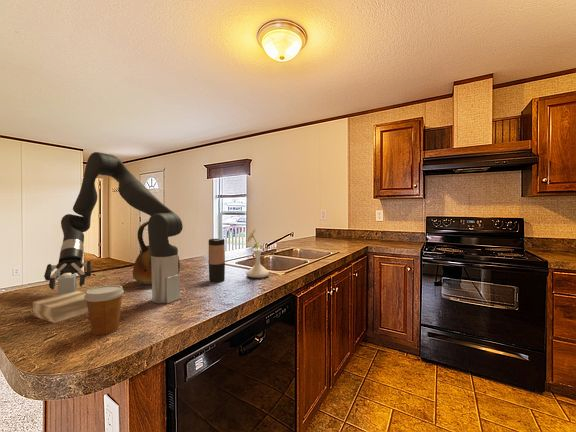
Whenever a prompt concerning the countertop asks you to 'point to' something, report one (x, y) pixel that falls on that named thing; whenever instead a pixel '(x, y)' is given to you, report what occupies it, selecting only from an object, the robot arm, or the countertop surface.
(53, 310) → the birch block
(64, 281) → the grey box with knob
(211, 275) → the travel mug
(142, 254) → the ceramic pitcher
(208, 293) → the countertop surface
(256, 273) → the flower in vase
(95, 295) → the disposable coffee cup
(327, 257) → the countertop surface
